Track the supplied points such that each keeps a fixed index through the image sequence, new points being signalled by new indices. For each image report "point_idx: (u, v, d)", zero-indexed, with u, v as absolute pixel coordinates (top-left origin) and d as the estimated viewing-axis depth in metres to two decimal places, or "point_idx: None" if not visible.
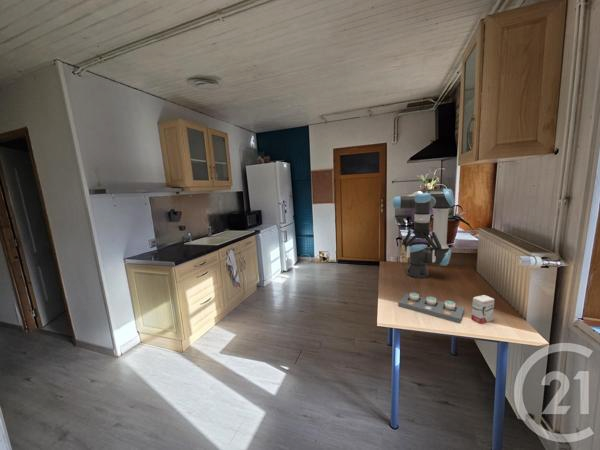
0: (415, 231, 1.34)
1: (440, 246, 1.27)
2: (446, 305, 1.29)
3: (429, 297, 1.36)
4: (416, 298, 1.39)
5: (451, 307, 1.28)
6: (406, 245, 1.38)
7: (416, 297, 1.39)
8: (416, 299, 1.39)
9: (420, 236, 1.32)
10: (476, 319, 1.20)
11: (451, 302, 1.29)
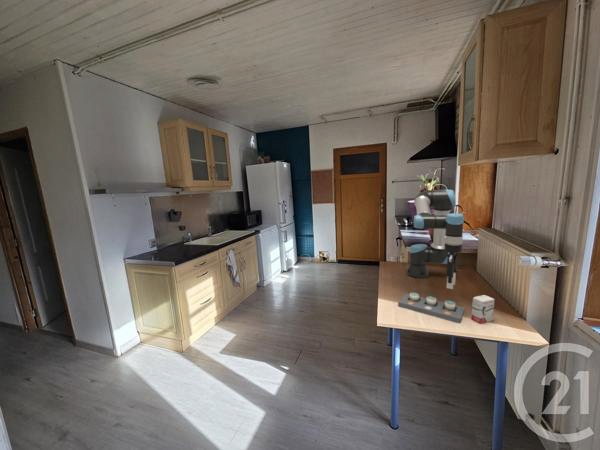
0: None
1: (449, 274, 1.22)
2: (446, 305, 1.29)
3: (429, 297, 1.36)
4: (416, 298, 1.39)
5: (451, 307, 1.28)
6: None
7: (416, 297, 1.39)
8: (416, 299, 1.39)
9: None
10: (476, 319, 1.20)
11: (451, 302, 1.29)
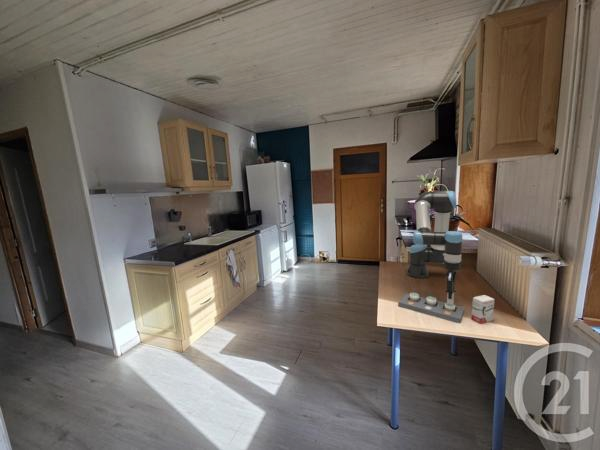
0: None
1: (449, 291, 1.25)
2: (446, 307, 1.29)
3: (429, 297, 1.36)
4: (416, 298, 1.39)
5: (451, 308, 1.28)
6: None
7: (416, 297, 1.39)
8: (416, 299, 1.39)
9: None
10: (476, 319, 1.20)
11: None
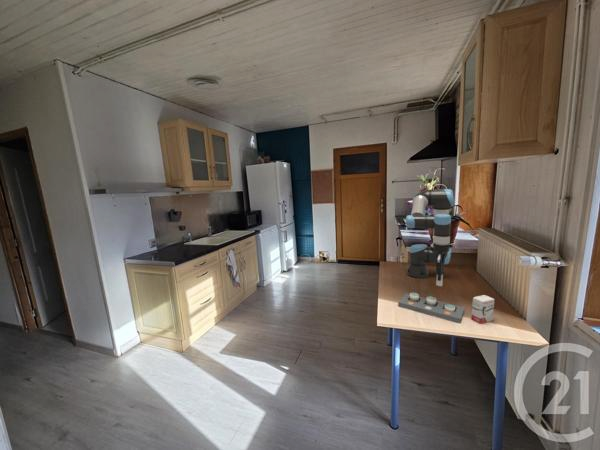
0: None
1: (438, 272, 1.28)
2: (446, 309, 1.30)
3: (429, 297, 1.36)
4: (416, 298, 1.39)
5: (451, 310, 1.28)
6: None
7: (416, 297, 1.39)
8: (416, 299, 1.39)
9: None
10: (476, 319, 1.20)
11: (451, 306, 1.30)
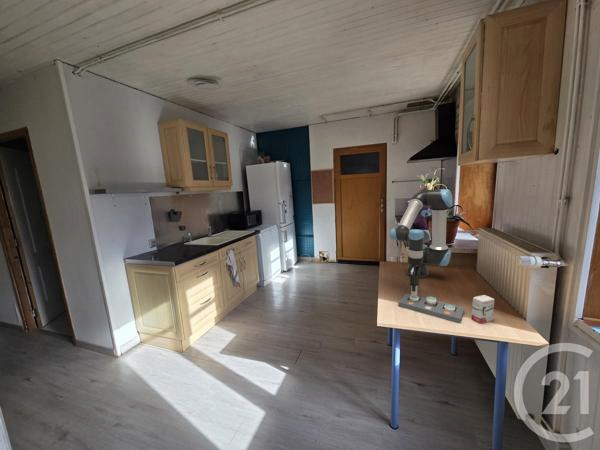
0: None
1: (412, 284, 1.37)
2: (446, 309, 1.30)
3: (429, 297, 1.36)
4: (416, 300, 1.40)
5: (451, 310, 1.28)
6: None
7: (416, 299, 1.39)
8: (416, 301, 1.40)
9: None
10: (476, 319, 1.20)
11: (451, 306, 1.30)
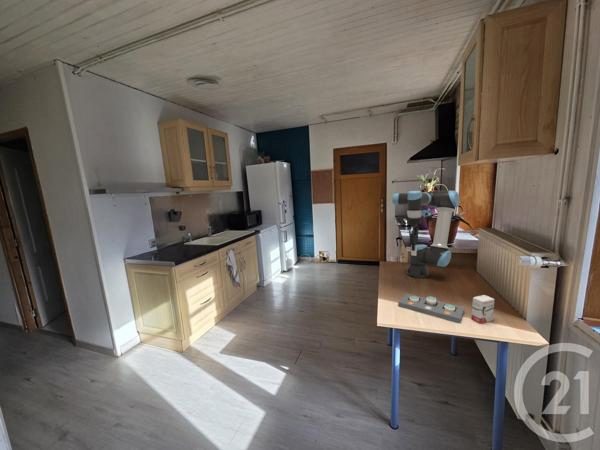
0: None
1: (412, 243, 1.44)
2: (446, 309, 1.30)
3: (429, 297, 1.36)
4: (416, 301, 1.40)
5: (451, 310, 1.28)
6: None
7: (416, 300, 1.40)
8: None
9: None
10: (476, 319, 1.20)
11: (451, 306, 1.30)
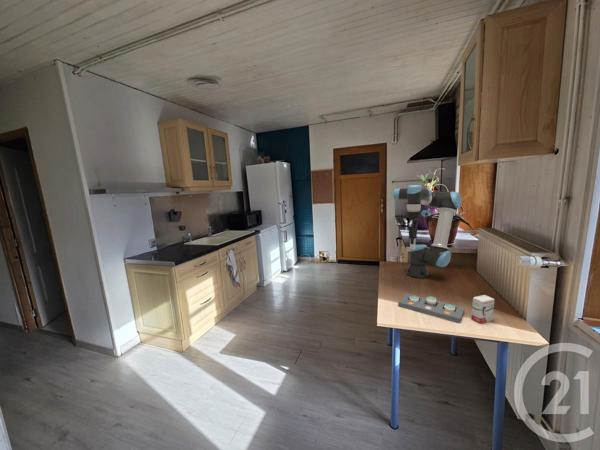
0: None
1: (410, 236, 1.46)
2: (446, 309, 1.30)
3: (429, 297, 1.36)
4: (416, 301, 1.40)
5: (451, 310, 1.28)
6: None
7: (416, 300, 1.40)
8: None
9: None
10: (476, 319, 1.20)
11: (451, 306, 1.30)
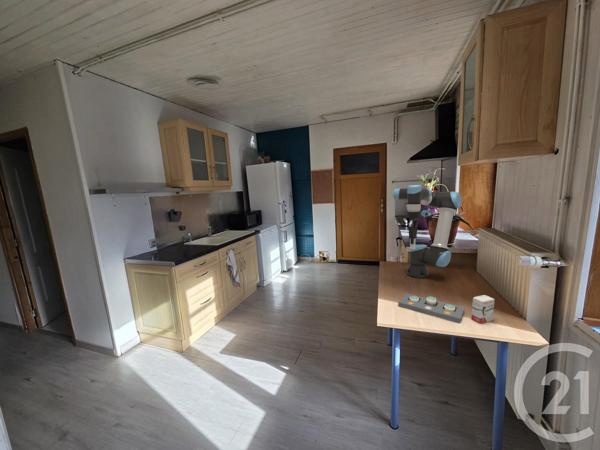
0: None
1: (410, 236, 1.46)
2: (446, 309, 1.30)
3: (429, 297, 1.36)
4: (416, 301, 1.40)
5: (451, 310, 1.28)
6: None
7: (416, 300, 1.40)
8: None
9: None
10: (476, 319, 1.20)
11: (451, 306, 1.30)
